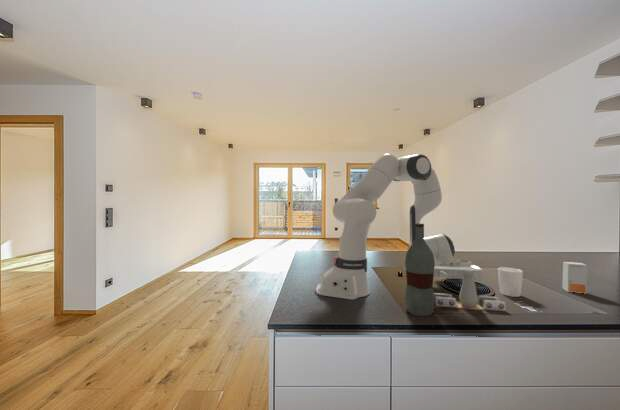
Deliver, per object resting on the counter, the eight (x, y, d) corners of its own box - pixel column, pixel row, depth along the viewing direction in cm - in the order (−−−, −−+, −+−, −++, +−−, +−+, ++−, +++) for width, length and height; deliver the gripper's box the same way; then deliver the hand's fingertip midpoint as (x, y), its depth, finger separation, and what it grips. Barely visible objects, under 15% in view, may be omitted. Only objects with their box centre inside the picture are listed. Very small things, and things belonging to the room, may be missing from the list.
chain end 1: (436, 306, 91) (436, 298, 91) (432, 300, 97) (432, 292, 96) (456, 307, 90) (456, 299, 90) (450, 301, 95) (450, 293, 95)
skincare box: (567, 292, 105) (568, 263, 105) (562, 289, 109) (562, 261, 109) (587, 294, 103) (587, 265, 103) (580, 291, 107) (581, 262, 107)
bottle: (434, 308, 90) (434, 223, 89) (435, 319, 81) (435, 225, 81) (405, 303, 93) (406, 222, 93) (403, 313, 85) (404, 224, 85)
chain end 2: (484, 309, 88) (484, 301, 88) (477, 303, 94) (477, 295, 94) (505, 311, 87) (505, 302, 87) (497, 304, 92) (497, 296, 92)
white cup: (516, 299, 98) (516, 273, 98) (493, 292, 105) (494, 268, 105) (526, 295, 102) (526, 270, 102) (503, 289, 109) (504, 266, 109)
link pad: (457, 308, 90) (457, 307, 90) (451, 301, 96) (451, 300, 96) (484, 310, 88) (484, 309, 88) (476, 303, 94) (476, 302, 94)
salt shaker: (480, 309, 88) (480, 272, 88) (462, 307, 89) (462, 270, 89) (474, 303, 93) (474, 267, 93) (456, 301, 95) (457, 266, 95)
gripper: (423, 259, 113) (432, 267, 99) (474, 261, 109) (490, 270, 95) (423, 273, 113) (432, 283, 99) (474, 276, 109) (490, 286, 96)
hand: (461, 277), depth 97 cm, fingers open, 8 cm apart
